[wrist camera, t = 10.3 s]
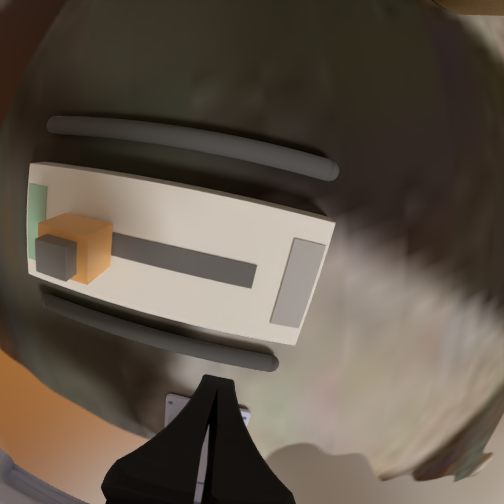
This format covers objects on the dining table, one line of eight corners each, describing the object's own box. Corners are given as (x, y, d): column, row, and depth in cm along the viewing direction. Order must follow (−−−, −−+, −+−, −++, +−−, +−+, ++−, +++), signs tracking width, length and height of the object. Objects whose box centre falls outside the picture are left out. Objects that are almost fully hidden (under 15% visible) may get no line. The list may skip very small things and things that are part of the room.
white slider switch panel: (292, 330, 22) (295, 346, 20) (42, 265, 21) (28, 274, 19) (328, 216, 19) (336, 223, 17) (45, 161, 18) (29, 163, 16)
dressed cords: (275, 365, 23) (276, 376, 22) (47, 302, 22) (39, 309, 21) (338, 162, 18) (343, 162, 17) (55, 116, 17) (45, 115, 16)
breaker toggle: (110, 266, 18) (77, 293, 14) (64, 252, 18) (28, 275, 14) (113, 223, 17) (76, 242, 13) (66, 212, 17) (25, 228, 13)
